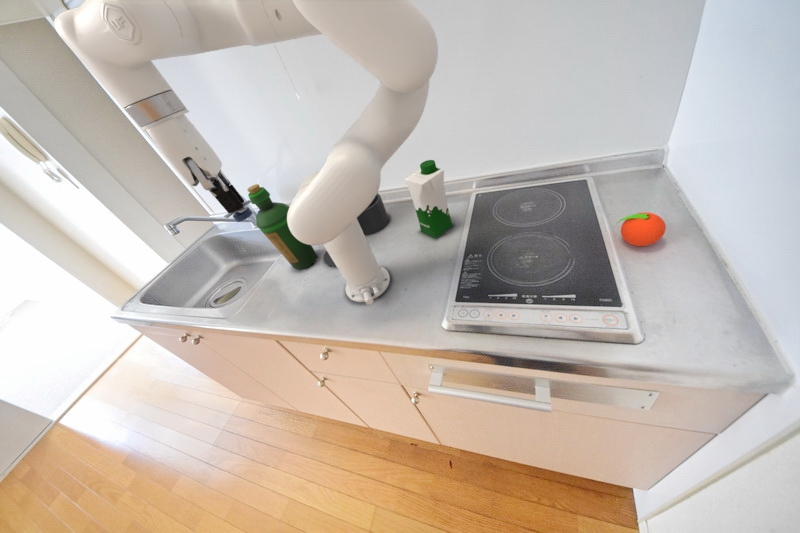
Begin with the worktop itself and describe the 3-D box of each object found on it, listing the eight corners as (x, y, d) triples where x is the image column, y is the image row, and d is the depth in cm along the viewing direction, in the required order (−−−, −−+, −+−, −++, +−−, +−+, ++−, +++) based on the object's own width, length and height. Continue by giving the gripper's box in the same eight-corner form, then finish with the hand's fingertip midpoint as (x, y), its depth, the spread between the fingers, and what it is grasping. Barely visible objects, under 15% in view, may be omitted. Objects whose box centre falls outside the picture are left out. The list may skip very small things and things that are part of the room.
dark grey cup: (393, 224, 91) (385, 201, 85) (360, 239, 90) (349, 217, 84) (382, 210, 101) (374, 188, 95) (352, 224, 99) (342, 203, 93)
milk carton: (457, 225, 80) (445, 161, 67) (435, 241, 78) (419, 178, 65) (437, 217, 87) (423, 157, 74) (416, 232, 84) (398, 172, 71)
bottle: (293, 257, 94) (240, 186, 76) (321, 247, 94) (274, 173, 76) (289, 277, 86) (229, 202, 68) (320, 266, 86) (267, 187, 68)
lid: (368, 254, 83) (360, 239, 79) (328, 274, 81) (318, 259, 77) (357, 234, 93) (350, 220, 89) (322, 251, 92) (313, 238, 88)
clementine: (611, 250, 58) (619, 224, 53) (610, 231, 62) (618, 204, 57) (660, 254, 54) (674, 226, 49) (657, 233, 58) (669, 205, 53)
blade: (257, 215, 55) (231, 183, 50) (230, 228, 54) (201, 196, 49) (257, 205, 59) (234, 174, 55) (232, 217, 59) (206, 187, 54)
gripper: (152, 116, 49) (224, 202, 61) (116, 128, 37) (214, 232, 49) (191, 99, 50) (255, 187, 62) (168, 106, 38) (252, 214, 50)
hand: (236, 206), depth 55 cm, fingers closed on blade
